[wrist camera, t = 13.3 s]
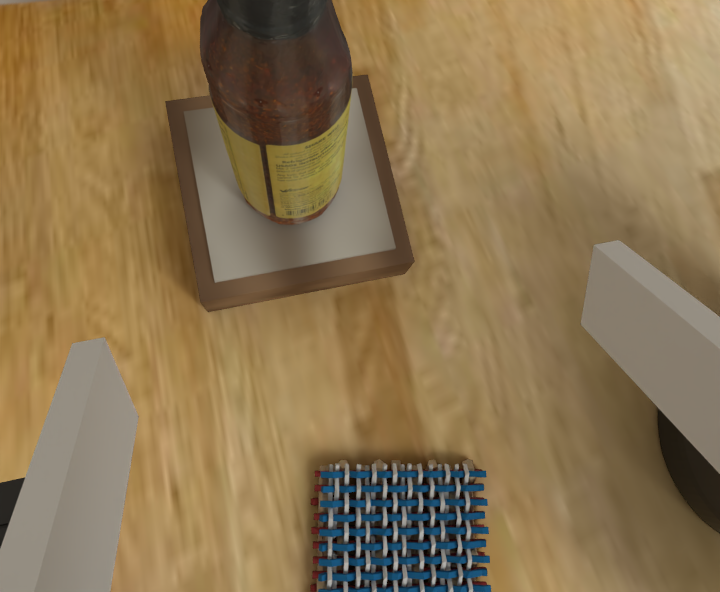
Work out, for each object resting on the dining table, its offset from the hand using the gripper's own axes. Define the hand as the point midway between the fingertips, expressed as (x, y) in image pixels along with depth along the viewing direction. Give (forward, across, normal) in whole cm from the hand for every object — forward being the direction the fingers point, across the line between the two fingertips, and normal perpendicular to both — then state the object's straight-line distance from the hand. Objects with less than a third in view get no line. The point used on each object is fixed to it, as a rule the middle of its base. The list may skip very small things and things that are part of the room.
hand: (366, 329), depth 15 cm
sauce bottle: (+21, -1, -4) cm, 22 cm away
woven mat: (+8, +2, -23) cm, 24 cm away
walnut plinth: (+23, 0, -6) cm, 24 cm away
